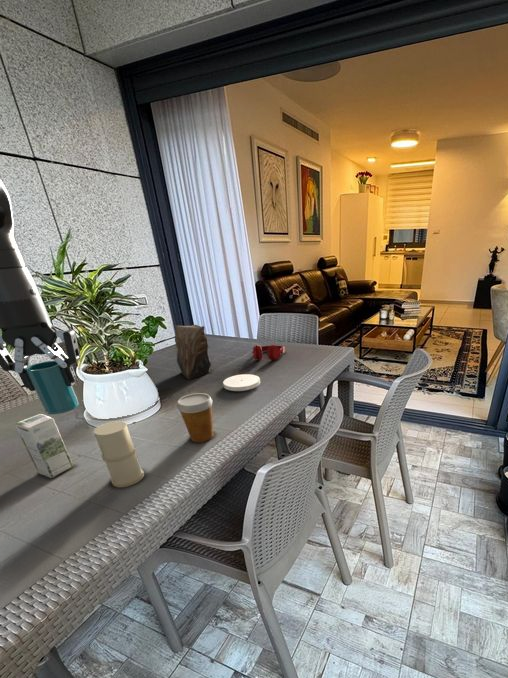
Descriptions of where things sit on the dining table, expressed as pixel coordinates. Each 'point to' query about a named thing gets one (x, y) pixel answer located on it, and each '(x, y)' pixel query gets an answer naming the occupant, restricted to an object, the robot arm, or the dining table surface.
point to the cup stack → (119, 453)
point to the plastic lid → (241, 382)
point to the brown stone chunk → (192, 351)
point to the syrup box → (44, 445)
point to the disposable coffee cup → (197, 416)
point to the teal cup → (52, 387)
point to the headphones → (268, 351)
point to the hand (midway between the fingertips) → (53, 386)
